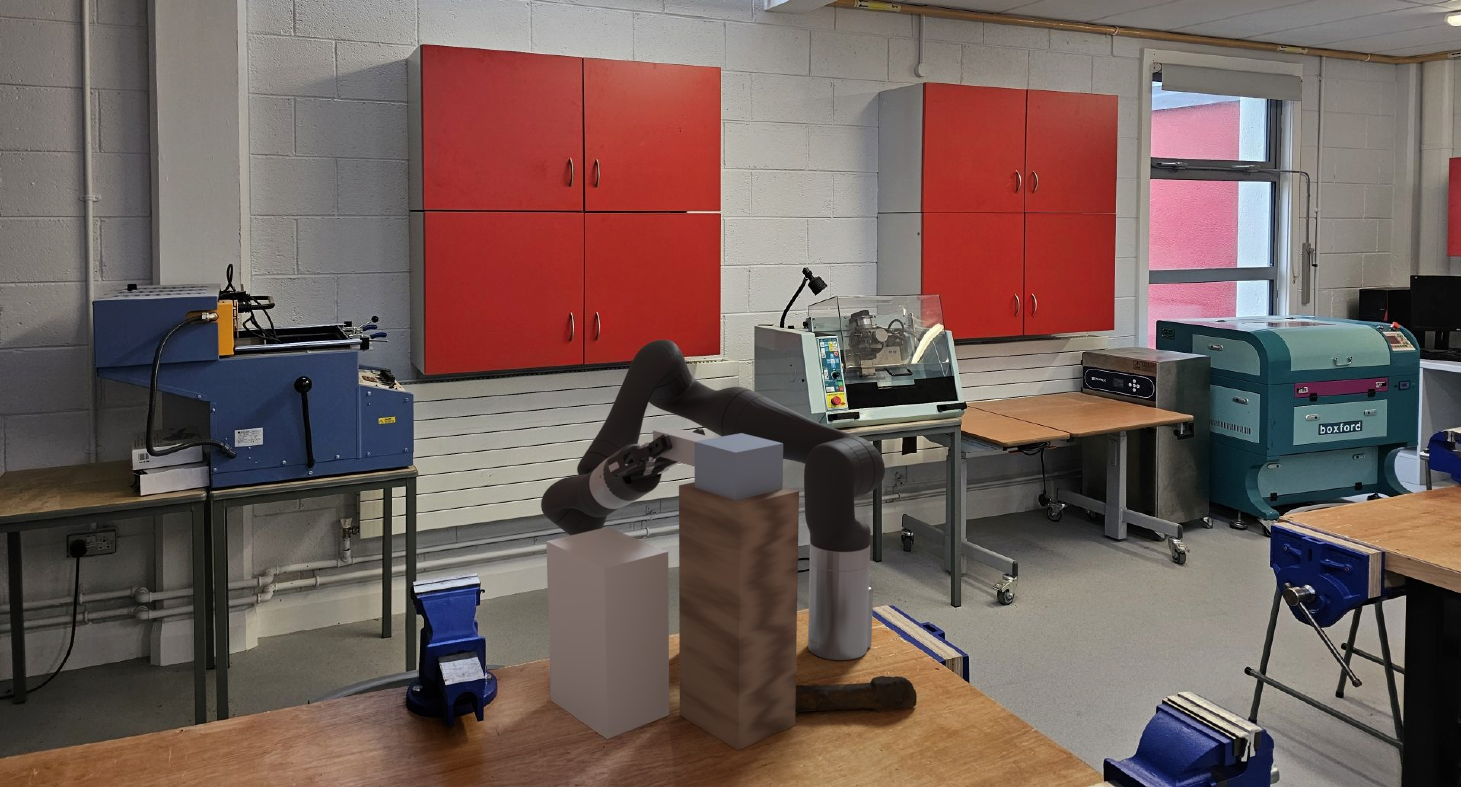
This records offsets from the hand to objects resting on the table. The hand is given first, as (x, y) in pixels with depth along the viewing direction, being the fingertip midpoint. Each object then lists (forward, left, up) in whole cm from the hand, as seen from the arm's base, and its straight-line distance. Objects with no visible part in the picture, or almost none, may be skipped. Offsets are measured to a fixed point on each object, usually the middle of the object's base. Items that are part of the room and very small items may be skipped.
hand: (686, 437), depth 137 cm
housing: (0, +5, -5) cm, 7 cm away
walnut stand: (0, +11, -37) cm, 38 cm away
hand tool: (-14, +18, -37) cm, 44 cm away
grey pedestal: (+11, -3, -37) cm, 38 cm away
